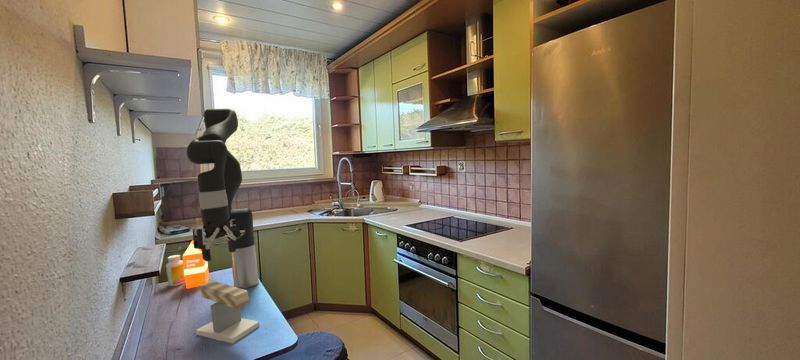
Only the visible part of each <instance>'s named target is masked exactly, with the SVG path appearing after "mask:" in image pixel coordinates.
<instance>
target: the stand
mask: <svg viewBox="0 0 800 360" xmlns="http://www.w3.org/2000/svg"><path fill="white" fill-rule="evenodd" d="M210 312H211V320H212V321H211V322H210V321H209V322H208V323H207V324H205V325H202V326H201V327H200V328H198V329H195V331H196V335H197V336H200V337H201V336H202V337H205V338H209V339H213V340H216V341H221V342H225V343H227V344H232V345H233V344H235V343H236V342H238V341H239V340H240V339H242V338H243V337H246V336H247V335H248V334H250V333H251V332H253V331H254V330H256V329H257V328H258V327H260V321H257V320H253V319H252V320H251V319H248V318H242V317H241V316H242V313H241V307H240V308H238V309H235V308H232V307H229V306H227V305H224V304H221V303H218V302H215V303H213V304H210Z"/></svg>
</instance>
